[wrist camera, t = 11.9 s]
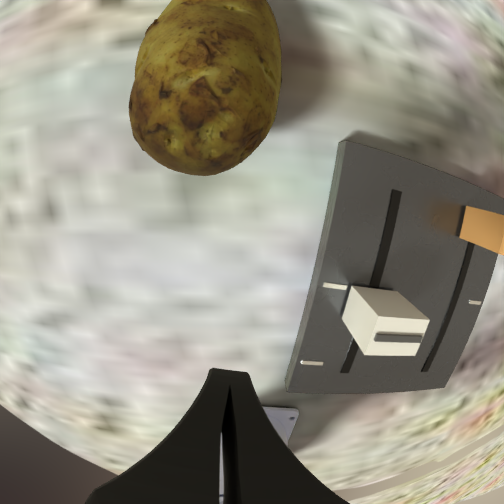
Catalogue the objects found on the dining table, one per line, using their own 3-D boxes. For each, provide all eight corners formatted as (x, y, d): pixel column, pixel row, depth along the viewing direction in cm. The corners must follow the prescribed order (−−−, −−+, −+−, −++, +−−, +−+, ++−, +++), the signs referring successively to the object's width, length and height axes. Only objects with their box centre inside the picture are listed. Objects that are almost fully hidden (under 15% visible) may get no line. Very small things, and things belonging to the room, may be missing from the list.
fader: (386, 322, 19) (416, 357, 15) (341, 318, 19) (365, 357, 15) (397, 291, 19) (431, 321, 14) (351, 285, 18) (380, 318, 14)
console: (437, 379, 23) (444, 388, 22) (284, 379, 22) (287, 392, 21) (497, 199, 19) (509, 201, 17) (338, 142, 18) (346, 140, 16)
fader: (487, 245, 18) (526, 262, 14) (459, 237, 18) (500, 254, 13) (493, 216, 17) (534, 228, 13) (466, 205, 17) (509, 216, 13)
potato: (318, 27, 16) (355, -36, 8) (241, 190, 18) (239, 203, 11) (207, -11, 14) (193, -81, 7) (125, 144, 17) (57, 133, 10)
